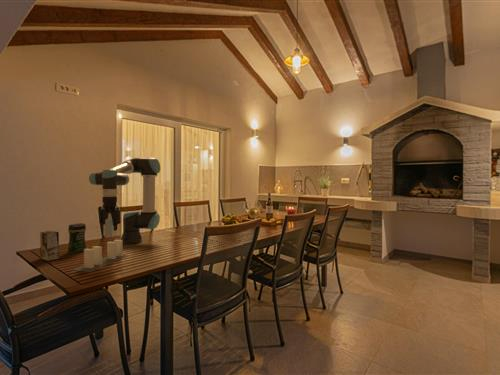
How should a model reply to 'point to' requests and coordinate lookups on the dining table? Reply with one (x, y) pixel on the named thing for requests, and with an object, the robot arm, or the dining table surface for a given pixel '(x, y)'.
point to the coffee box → (49, 245)
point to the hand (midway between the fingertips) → (110, 235)
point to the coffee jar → (76, 238)
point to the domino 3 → (108, 227)
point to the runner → (104, 263)
